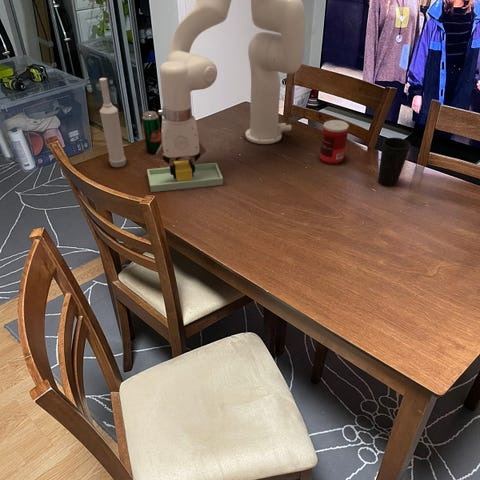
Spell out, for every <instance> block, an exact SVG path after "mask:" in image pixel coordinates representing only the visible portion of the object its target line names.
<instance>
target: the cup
mask: <svg viewBox="0 0 480 480" xmlns="http://www.w3.org/2000/svg"><path fill="white" fill-rule="evenodd" d="M381 145H382V146H381V153H380V160H379V161H380V163H379V170H378V176H377V177H378V178H377V183H378V184H379V185H380V186H382V187H386V188H393V187H395V186H397V184H398V182H399V179H400V176H401V173H402V171H403V168H404V166H405V164H406V160H407V157H408V154H409V151H410V149H411V146H412V145H411V143H410V142H409V140H407V139H405V138H401V137H387V138H385V139H383V141H382V144H381Z"/></svg>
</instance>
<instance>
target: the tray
mask: <svg viewBox="0 0 480 480" xmlns="http://www.w3.org/2000/svg"><path fill="white" fill-rule="evenodd" d="M146 173H147V178H148V184H149V189H150V193H158V192H168V191H174V190H175V191H176V190H185V189H186V190H187V189H196V188H206V187H214V186H223V185H224V178H223V175H222V173H221V170H220V168H219V165H218V163H217V162H209V163H208V162H207V163H199V164H197V163H196V164H195V173H193V177H192V181H182V182H177V181H176V179H174V177H173V175H171V173H170V166H167V167H158V168H157V167H156V168H148V169H147V170H146Z"/></svg>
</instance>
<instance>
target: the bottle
mask: <svg viewBox="0 0 480 480" xmlns="http://www.w3.org/2000/svg"><path fill="white" fill-rule="evenodd" d="M108 83H109V82H108V78H107V77H100V78H99V85H100V89H101V95H102V101H103V103H102V107H101V108H100V109H99V114H100V115H99V116H100V119H101V122H102V128H103V129H102V130H103V133H104V138H105V143H106V147H107V152H108V156H109V158H108V161H109V164H110V166H111V167H113V168H121V167H124V166H126V164H127V158H126V156H125V151H124V143H123V137H122V130H121V122H120V118H119V117H120V116H119V115H120V114H119V109H118V108H117V107H116V106H115V105H113V103H112V102H111V97H110V91H109V85H108Z"/></svg>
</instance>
